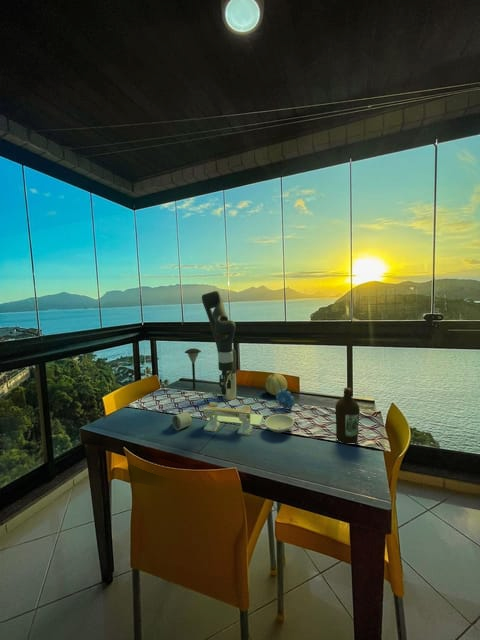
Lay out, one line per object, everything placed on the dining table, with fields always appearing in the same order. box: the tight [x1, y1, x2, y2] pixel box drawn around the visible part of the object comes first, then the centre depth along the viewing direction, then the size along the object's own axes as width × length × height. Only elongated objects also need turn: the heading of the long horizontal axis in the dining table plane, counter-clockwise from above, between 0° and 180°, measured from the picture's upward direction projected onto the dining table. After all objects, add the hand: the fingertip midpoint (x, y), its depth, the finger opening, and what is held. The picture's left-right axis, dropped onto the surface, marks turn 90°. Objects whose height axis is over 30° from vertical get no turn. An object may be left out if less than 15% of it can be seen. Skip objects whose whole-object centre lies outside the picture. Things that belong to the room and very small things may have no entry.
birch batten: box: [203, 406, 252, 419], centre depth 144 cm, size 3×24×3 cm, turn 75°
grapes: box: [275, 389, 295, 410], centre depth 168 cm, size 12×7×12 cm, turn 60°
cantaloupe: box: [265, 372, 288, 396], centre depth 193 cm, size 15×15×15 cm
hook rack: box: [203, 401, 254, 436], centre depth 146 cm, size 8×24×12 cm, turn 75°
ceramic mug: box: [171, 411, 193, 431], centre depth 150 cm, size 11×8×8 cm
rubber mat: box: [205, 413, 264, 426], centre depth 158 cm, size 12×30×1 cm, turn 75°
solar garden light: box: [184, 347, 202, 391], centre depth 205 cm, size 12×12×30 cm
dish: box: [263, 413, 295, 433], centre depth 143 cm, size 18×14×5 cm
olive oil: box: [334, 387, 361, 444], centre depth 132 cm, size 11×11×25 cm
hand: (226, 391), depth 143 cm, fingers open, 8 cm apart
